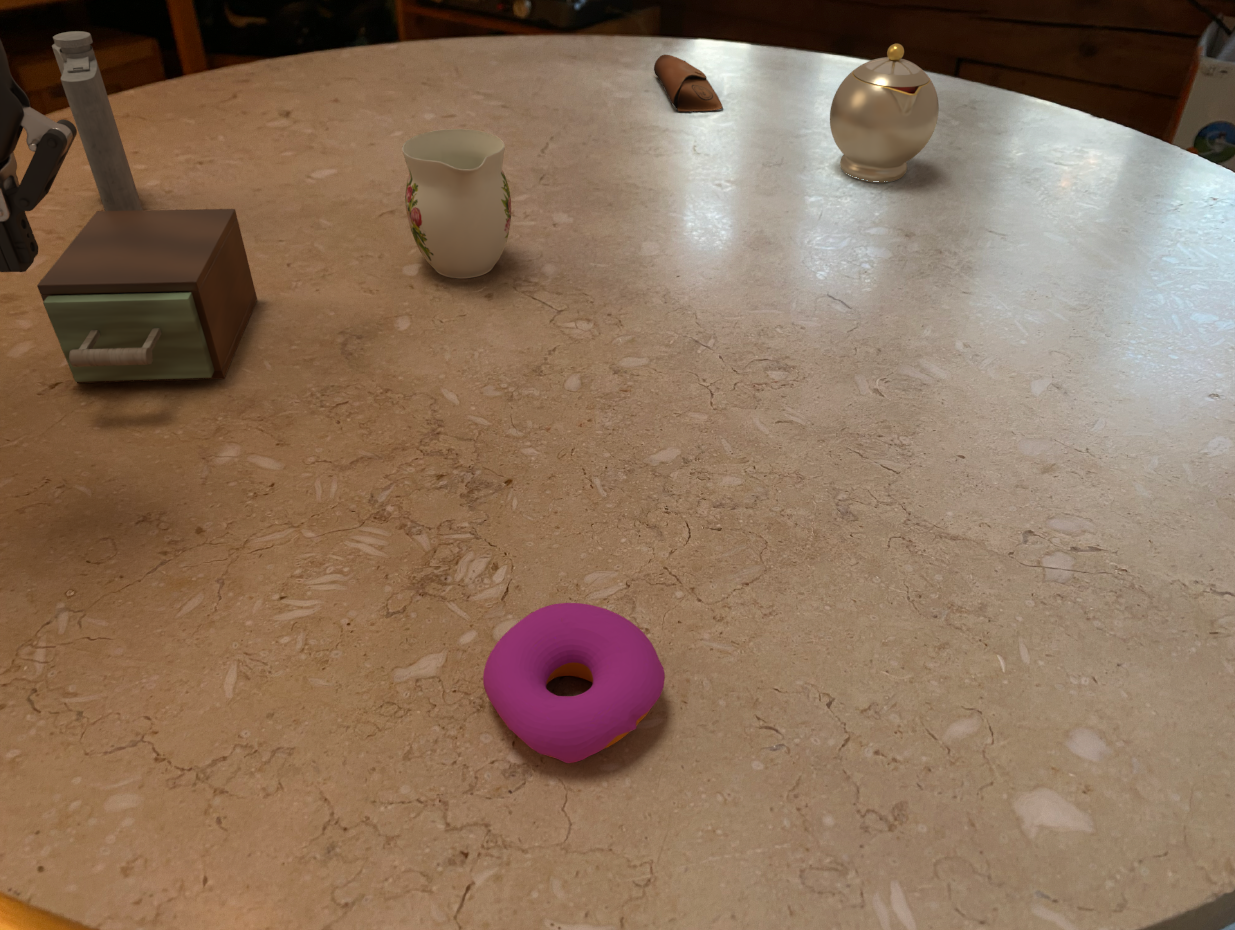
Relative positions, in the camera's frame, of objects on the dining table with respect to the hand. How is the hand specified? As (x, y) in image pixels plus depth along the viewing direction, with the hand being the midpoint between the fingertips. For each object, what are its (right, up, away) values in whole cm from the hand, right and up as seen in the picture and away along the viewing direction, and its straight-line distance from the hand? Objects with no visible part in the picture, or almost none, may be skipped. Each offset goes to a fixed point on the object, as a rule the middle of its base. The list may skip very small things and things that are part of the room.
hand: (17, 266), depth 63 cm
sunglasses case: (+51, +46, +88) cm, 112 cm away
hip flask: (-18, +16, +49) cm, 54 cm away
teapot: (+74, +27, +65) cm, 103 cm away
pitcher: (+23, +9, +41) cm, 48 cm away
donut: (+38, -28, -4) cm, 47 cm away
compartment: (-2, -3, +23) cm, 24 cm away
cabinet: (-2, -1, +27) cm, 27 cm away
